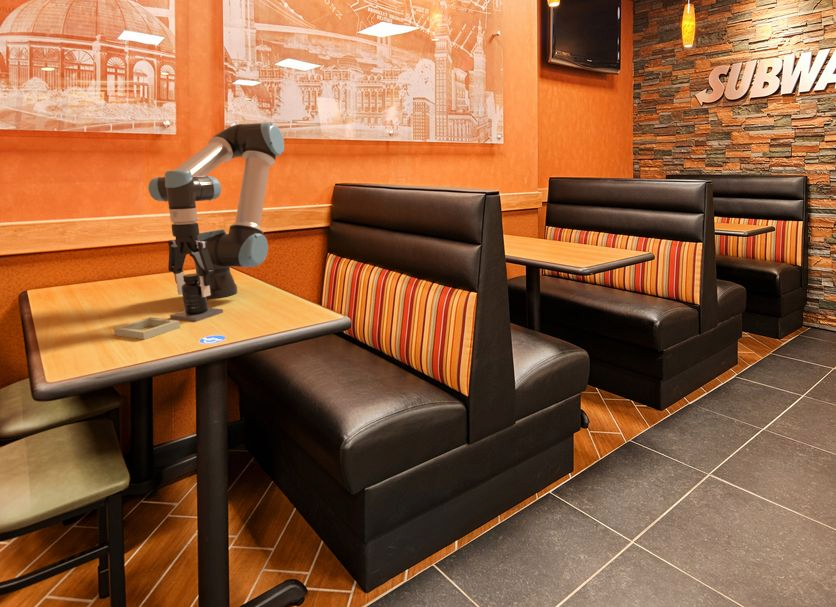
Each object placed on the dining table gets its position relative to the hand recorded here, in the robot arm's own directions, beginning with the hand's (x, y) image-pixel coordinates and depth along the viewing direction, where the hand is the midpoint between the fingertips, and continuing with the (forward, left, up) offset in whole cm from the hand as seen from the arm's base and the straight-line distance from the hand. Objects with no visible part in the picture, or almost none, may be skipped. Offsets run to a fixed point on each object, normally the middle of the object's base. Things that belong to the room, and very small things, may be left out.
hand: (194, 294), depth 169 cm
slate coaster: (0, 0, -7) cm, 7 cm away
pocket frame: (0, -18, -7) cm, 19 cm away
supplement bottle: (0, 0, -6) cm, 6 cm away
